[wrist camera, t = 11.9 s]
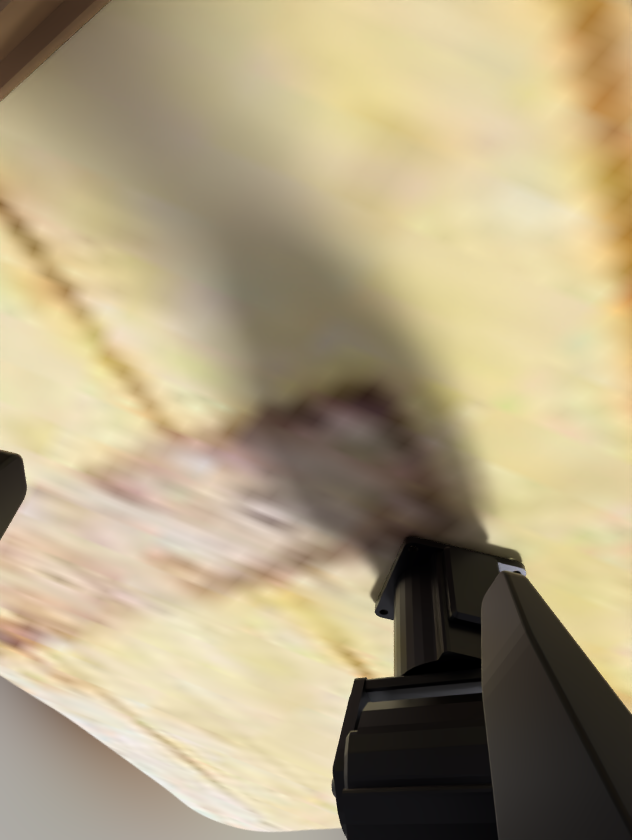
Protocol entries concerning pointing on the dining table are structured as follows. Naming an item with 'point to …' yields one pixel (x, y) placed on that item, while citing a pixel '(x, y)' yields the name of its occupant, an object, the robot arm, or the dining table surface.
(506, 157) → the dining table surface
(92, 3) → the cradle
